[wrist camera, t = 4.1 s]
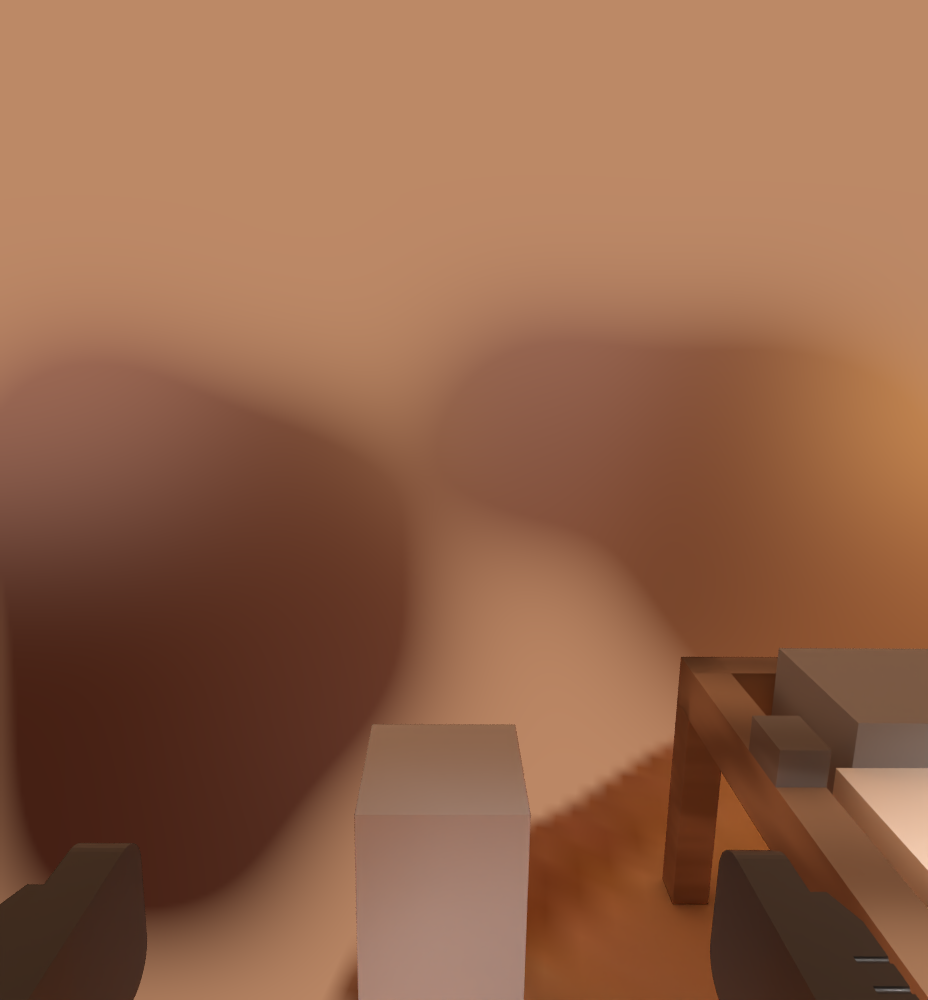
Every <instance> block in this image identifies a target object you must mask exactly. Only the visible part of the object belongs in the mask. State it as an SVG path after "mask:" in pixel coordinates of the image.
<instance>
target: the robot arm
mask: <svg viewBox="0 0 928 1000" xmlns="http://www.w3.org/2000/svg"><path fill="white" fill-rule="evenodd" d="M142 877H143V876H142V862H141V854H140V850H139V848H138V846H137V845H136V844H134V843H132V844H131V843H78V844H76V845H74V846H73V847H72V848H71V849H70V850H69V852H68V853H67V854H66V856H65V857H64V858H63V860H62V861H61V862H60V864H59V865H58V866H57V868H56V869H55V870H54V872H53V873H52V874H51V876H50V877H49V878H48V880H47V881H46V883H45V884H44V885H29V884H27V885H26V886H24V887H23V888H22V889H21V890H19V891H17V892H16V893H15V894H13V895H12V896H11V897H9V898H8V899H7V900H5V901H4V902H3V903H1V904H0V1000H133V999H134V997H135V995H136V992H137V990H138V987H139V984H140V981H141V978H142V974H143V970H144V965H145V959H146V950H147V932H146V918H145V905H144V891H143V878H142ZM710 957H711V968H712V974H713V980H714V984H715V988H716V992H717V995H718V998H719V1000H919V998H918V997H917V995H916V994H912V993H911V991H910V986H909V984H908V983H907V982H906V980H905V979H904V977H903V976H902V975H901V973H900V972H899V971H898V969H897V968H896V966H895V965H894V964H890V962H889V959H888V955H887V954H886V953H885V951H884V950H883V948H882V947H881V946H880V944H879V943H878V941H877V940H876V939H875V937H874V936H873V935H872V933H871V932H870V930H869V929H868V928H867V926H866V925H865V923H864V922H863V921H862V920H861V919H859V918H858V917H857V916H856V915H854V914H853V913H852V912H851V911H850V910H848V909H847V908H846V907H845V906H843V905H842V904H841V903H840V902H838V901H837V900H836V899H835V898H833V897H832V896H831V895H830V894H829V893H827V892H810V891H809V889H808V888H807V886H806V885H805V883H804V882H803V880H802V879H801V877H800V876H799V874H798V873H797V871H796V870H795V868H794V867H793V865H792V864H791V862H790V861H789V859H788V858H787V857H786V855H785V854H784V853H783V852H781V851H770V850H726V851H724V852H723V853H722V855H721V858H720V862H719V869H718V879H717V888H716V897H715V906H714V915H713V924H712V933H711V943H710Z"/></svg>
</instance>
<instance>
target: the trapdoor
mask: <svg viewBox="0 0 928 1000" xmlns="http://www.w3.org/2000/svg"><path fill="white" fill-rule="evenodd" d="M771 716H800V717H801V718H802V719H803V720H804V721H805V722H806V723H807V724H808V726H809V727H810V728H811V729H812V730H813V731H814V732H815V733H816V734H817V735H818V736H819V737H820V738H821V740H822V741H823V742H824V743H825V744H826V745H827V746H828V747H829V748H830V749H831V750H832V751H831V758H830V766H829V773H828V780H827V789H828V790H829V791H830V792H831V793H832V795H833V796H834V797H835V798H836V799H837V801H838V802H839V803H840V804H841V805H842V807H843V808H844V809H845V810H846V811H847V812H848V814H849V815H850V816H851V817H852V818H853V820H854V821H855V822H856V823H857V824H858V826H859V827H860V828H861V829H862V830H863V832H864V833H865V834H866V835H867V836H868V838H869V839H870V840H871V841H872V842H873V844H874V845H875V846H876V847H877V848H878V849H879V851H880V852H881V853H882V854H883V855H884V857H885V858H886V859H887V860H888V861H889V863H890V864H891V865H892V866H893V867H894V869H895V870H896V871H897V872H898V873H899V875H900V876H901V877H902V878H903V879H904V881H905V882H906V883H907V884H908V885H909V886H910V888H911V889H912V890H913V891H914V892H915V894H916V895H917V896H918V897H919V898H920V900H921V901H922V902H923V903H924V904H925V906H926V907H927V908H928V649H832V648H827V649H826V648H818V649H817V648H779V653H778V661H777V670H776V679H775V688H774V696H773V705H772V714H771Z"/></svg>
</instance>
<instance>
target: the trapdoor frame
mask: <svg viewBox="0 0 928 1000" xmlns="http://www.w3.org/2000/svg"><path fill="white" fill-rule="evenodd" d="M777 661H778V657H681V664H680V676H679V687H678V700H677V712H676V723H675V735H674V747H673V759H672V771H671V783H670V795H669V807H668V819H667V831H666V843H665V855H664V867H663V881H664V883H665V886H666V888H667V891H668V893H669V896H670V898H671V901H672V903H673V904H708V898H709V888H710V878H711V868H712V858H713V848H714V838H715V828H716V818H717V807H718V797H719V787H720V777H721V772H722V774H723V775H724V777H725V778H726V780H727V782H728V783H729V785H730V786H731V788H732V790H733V791H734V793H735V794H736V796H737V798H738V799H739V801H740V802H741V804H742V806H743V807H744V809H745V810H746V812H747V814H748V815H749V817H750V818H751V820H752V822H753V823H754V825H755V826H756V828H757V830H758V831H759V833H760V834H761V836H762V838H763V839H764V841H765V842H766V844H767V846H768V847H769V849H770V850H771V851H781V852H783V853H784V854H785V855H786V857H787V858H788V859H789V861H790V862H791V864H792V865H793V867H794V868H795V870H796V871H797V873H798V874H799V876H800V877H801V879H802V880H803V882H804V883H805V885H806V886H807V888H808V889H809V891H810V892H827V893H829V894H830V895H831V896H832V897H833V898H835V899H836V900H837V901H838V902H840V903H841V904H842V905H843V906H845V907H846V908H847V909H848V910H850V911H851V912H852V913H853V914H854V915H856V916H857V917H858V918H859V919H861V920H862V921H863V922H864V923H865V925H866V926H867V928H868V929H869V930H870V932H871V933H872V935H873V936H874V937H875V939H876V940H877V941H878V943H879V944H880V946H881V947H882V948H883V950H884V951H885V953H886V954H887V955H888V959H889V962H890V964H894V965H895V966H896V968H897V969H898V971H899V972H900V973H901V975H902V976H903V977H904V979H905V980H906V982H907V983H908V984H909V986H910V991H911V993H912V994H916V995H917V997H918V998H919V1000H928V908H927V907H926V906H925V904H924V903H923V902H922V901H921V900H920V898H919V897H918V896H917V895H916V894H915V892H914V891H913V890H912V889H911V888H910V886H909V885H908V884H907V883H906V882H905V881H904V879H903V878H902V877H901V876H900V875H899V873H898V872H897V871H896V870H895V869H894V867H893V866H892V865H891V864H890V863H889V861H888V860H887V859H886V858H885V857H884V855H883V854H882V853H881V852H880V851H879V849H878V848H877V847H876V846H875V845H874V844H873V842H872V841H871V840H870V839H869V838H868V836H867V835H866V834H865V833H864V832H863V830H862V829H861V828H860V827H859V826H858V824H857V823H856V822H855V821H854V820H853V818H852V817H851V816H850V815H849V814H848V812H847V811H846V810H845V809H844V808H843V807H842V805H841V804H840V803H839V802H838V801H837V799H836V798H835V797H834V796H833V795H832V793H831V792H830V791H829V790H828V789H827V780H828V773H829V766H830V758H831V751H832V750H831V749H830V748H829V747H828V746H827V745H826V744H825V743H824V742H823V741H822V740H821V738H820V737H819V736H818V735H817V734H816V733H815V732H814V731H813V730H812V729H811V728H810V727H809V726H808V724H807V723H806V722H805V721H804V720H803V719H802V718H801V717H800V716H771V714H772V705H773V696H774V688H775V679H776V670H777Z"/></svg>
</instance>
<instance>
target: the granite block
mask: <svg viewBox="0 0 928 1000" xmlns="http://www.w3.org/2000/svg"><path fill="white" fill-rule="evenodd" d="M354 815H355V817H354V819H355V865H356V866H355V867H356V909H357V911H356V914H357V963H358V1000H524V979H525V952H526V926H527V899H528V872H529V845H530V818H531V814H530V808H529V802H528V796H527V791H526V785H525V779H524V773H523V768H522V762H521V756H520V750H519V744H518V738H517V732H516V727H515V725H424V724H419V725H418V724H417V725H416V724H414V725H411V724H410V725H409V724H405V725H404V724H394V725H393V724H385V725H384V724H373V725H372V728H371V733H370V738H369V743H368V748H367V753H366V759H365V764H364V769H363V774H362V779H361V784H360V789H359V794H358V799H357V804H356V809H355V814H354Z"/></svg>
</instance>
